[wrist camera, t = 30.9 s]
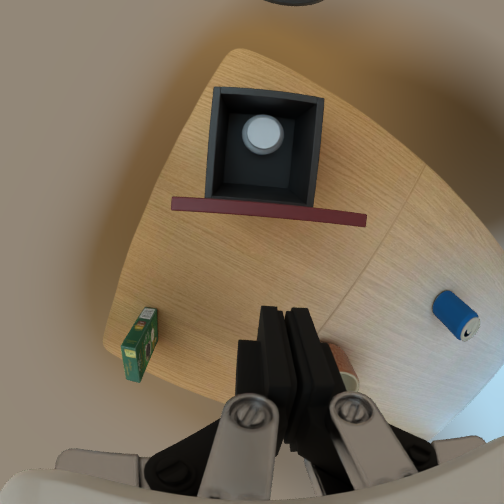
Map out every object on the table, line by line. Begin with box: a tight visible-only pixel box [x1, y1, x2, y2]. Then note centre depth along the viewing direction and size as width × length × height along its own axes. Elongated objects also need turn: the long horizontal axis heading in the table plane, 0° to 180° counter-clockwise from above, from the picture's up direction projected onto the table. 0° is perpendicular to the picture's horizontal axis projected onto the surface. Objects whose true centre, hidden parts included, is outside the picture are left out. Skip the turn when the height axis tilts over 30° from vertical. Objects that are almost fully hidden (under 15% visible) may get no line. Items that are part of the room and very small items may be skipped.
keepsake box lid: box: [171, 197, 367, 227], centre depth 22 cm, size 14×12×1 cm
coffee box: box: [121, 307, 158, 383], centre depth 45 cm, size 8×3×13 cm, turn 171°
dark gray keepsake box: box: [205, 87, 324, 207], centre depth 34 cm, size 13×12×15 cm
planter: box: [328, 343, 359, 392], centre depth 50 cm, size 12×12×11 cm
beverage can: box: [433, 291, 480, 342], centre depth 46 cm, size 6×6×12 cm
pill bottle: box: [242, 114, 284, 155], centre depth 35 cm, size 5×5×10 cm
